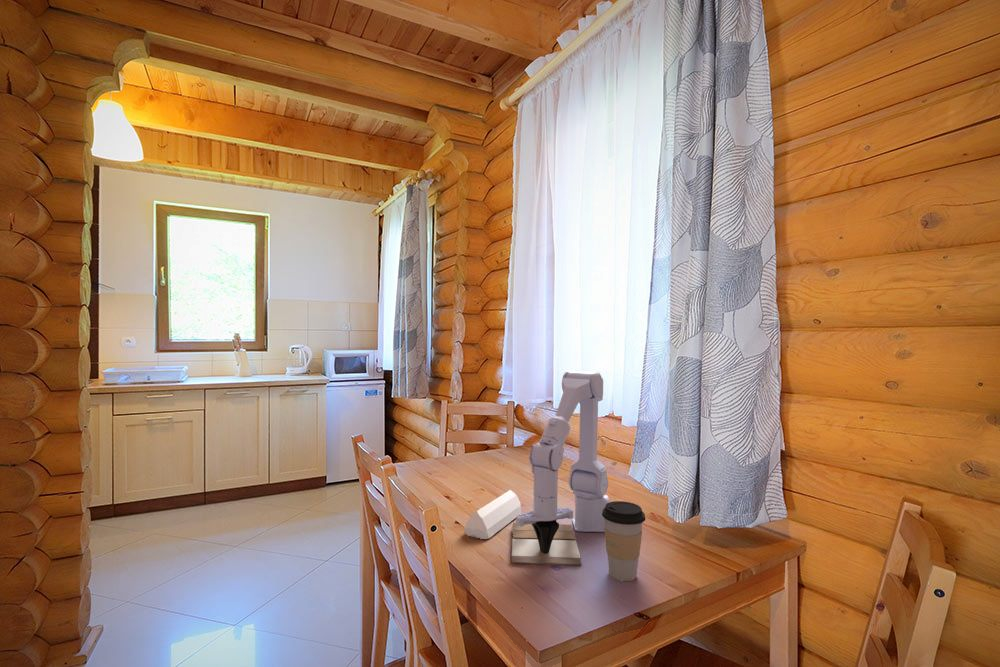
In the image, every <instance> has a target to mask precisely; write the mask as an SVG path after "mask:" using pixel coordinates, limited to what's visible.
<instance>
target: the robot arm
mask: <svg viewBox="0 0 1000 667" xmlns="http://www.w3.org/2000/svg"><path fill="white" fill-rule="evenodd" d="M561 390H562V395H561V398H560V401H559V404H558V407H557V411H556V413H555V415H554V416H553V417H551V418H549V420H548V422H547V424H546V426H545V428H544V430H543V432H542V435H541V437H540V439H539V442H537V443H535V444H534V445H532V447H531V449H530V453H529V456H528V461H529V464H530V467H531V473H532V475H533V502H532V503H533V504H532V505H533V506H532V507H533V508H532V509H533V510H531V511H528V512H525V513H523V514H522V513H521V514H520V515H517V516H516V518H515V523H516V524H517V525H518V526H519V527H522V526H524V525H526V524H532V526H533V528H534V530H535V532H536V535H537V538H538V542H539V547H540V551H541V552H542V553H544V554H546V553H549V550H550V547H551V543H552V540H553V538H554V535H555V533H556V532H557V530H558V529H559V524H560V523H559V522H558V521H557V520H562V519H569V520H571V519H572V520H571V521H572V524H573V525H572V526H573V529H574V531H575V532H586V533H588V532H591V533H605V531H604V525H605V523H604V517H603V516H602V511H603V509H604V508H605V506H606V504H607V503H609V502H610V498H609V496H608V494H606V493H607V491H608V489H609V488H608V487H609V479H608V473H607V467H606V466H605V465H604V464H602V462H600V461H599V460H598V428H599V426H598V425H599V423H598V422H599V421H598V420H599V418H598V417H599V415H598V414H599V403H600V402H601V401H603V400H604V398H603V396H604V379H603V377H602V375H601V373H600V372H598V371H582V370H581V371H575V370H570V369H569V370H566V371H565V372H564V374H563V375H562V378H561ZM578 404H579V438H578V439H579V440H578V442H579V443H578V444H579V445H578V446H579V447H578V459H577V460H576V461H574V462H573V463H572V464H571V465H570V472H569V476H568V487H569V489H570V490H571V491H572V494H573V495H574V496H575V497H574V506H575V507H574V510H573V509H572V508H569V507H567V508H566V507H564V508H563V507H561V508H558V488H559V487H558V486H559V484H558V483H559V482H558V480H559V474H558V473H559V469H561V466H562V464H563V460H564V452H565V448H564V445H565V443H566V440H567V438H568V436H569V433H570V430H571V426H570V424H569V422H570V420H571V418H572V416H573V414H574V412H575V410H576V408H577V407H578Z"/></svg>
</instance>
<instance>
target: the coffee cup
mask: <svg viewBox="0 0 1000 667" xmlns="http://www.w3.org/2000/svg"><path fill="white" fill-rule="evenodd" d="M602 516H603V517H604V523H605V525H604V531H605V532H604V539H605V550H606V554H607V562H608V564H607V565H608V573H609V575H610V577H612V578H613V579H615V580H617V581H621V582H630V581H634V580H635V579H636V578H637V573H638V566H639V557H640V555H641V554H640V552H641V545H642V538H643V536H642V535H643V530H642V529H643V528H642V527H643V523H644V522H646V514H645V513H644V511H643V508H642V507H641V506H640V505H638V504H637V503H633V502H629V501H621V500H615V501H609V503H607V504H606V506H605V508H604V509H603V511H602Z"/></svg>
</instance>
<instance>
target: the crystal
mask: <svg viewBox="0 0 1000 667" xmlns="http://www.w3.org/2000/svg"><path fill="white" fill-rule="evenodd" d="M517 515H522V504H521V502H520V499H519V497H518V495H517V494H516V493H515V492H514V491H512V490H511V489H509V490H508V491H506V492H505V493H503V494H501V495H500V496H499V497H497V498H495V499H493V500H492V501H490V502H489V503H487V504H486V505H484V506H482V507H481V508H479V509H478V510H476V511H475V512H473V514H471V515H470V516H469V518H468V520H467V521H466V524H465V526H464V533H465V535H467V536H468V537H470V536H471V537H470V538H474V537H475V538H474V539H478V538H480V539H479V540H482V539H485V540H488V539H490V538H491V537H493V536H494V535H495V534H496V533H498V532H499V531H500V530H502V529H503V528H504V527H506V526H507V525H509V524H510V523H511V522H512V521H513V520H516V516H517Z"/></svg>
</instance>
